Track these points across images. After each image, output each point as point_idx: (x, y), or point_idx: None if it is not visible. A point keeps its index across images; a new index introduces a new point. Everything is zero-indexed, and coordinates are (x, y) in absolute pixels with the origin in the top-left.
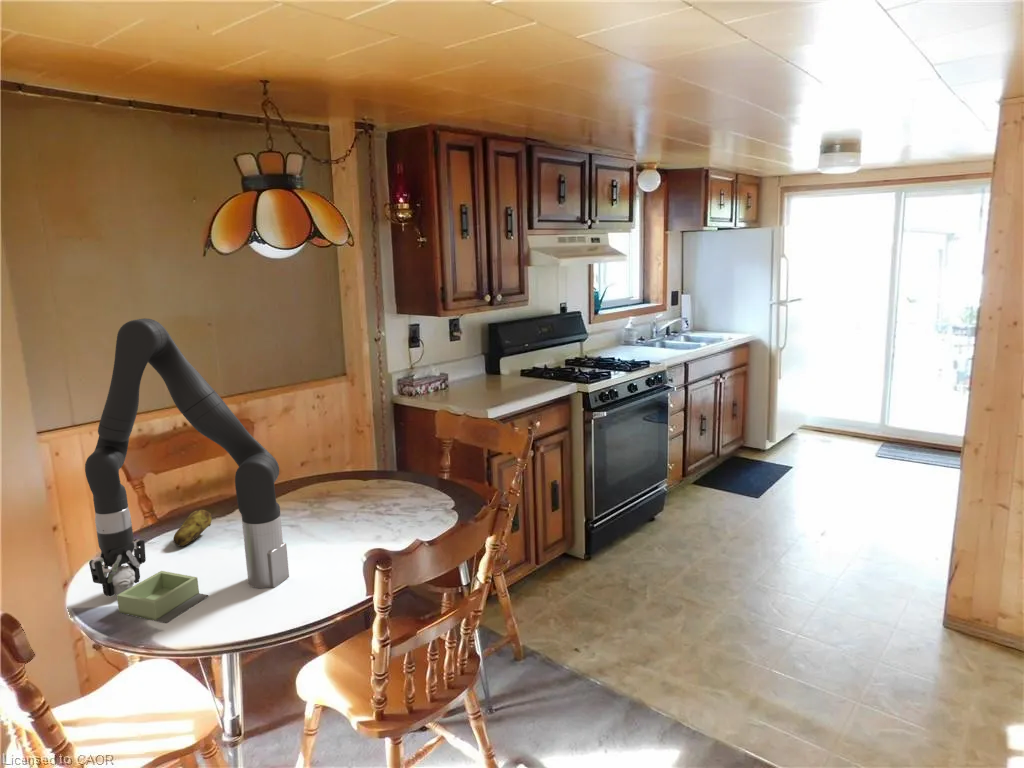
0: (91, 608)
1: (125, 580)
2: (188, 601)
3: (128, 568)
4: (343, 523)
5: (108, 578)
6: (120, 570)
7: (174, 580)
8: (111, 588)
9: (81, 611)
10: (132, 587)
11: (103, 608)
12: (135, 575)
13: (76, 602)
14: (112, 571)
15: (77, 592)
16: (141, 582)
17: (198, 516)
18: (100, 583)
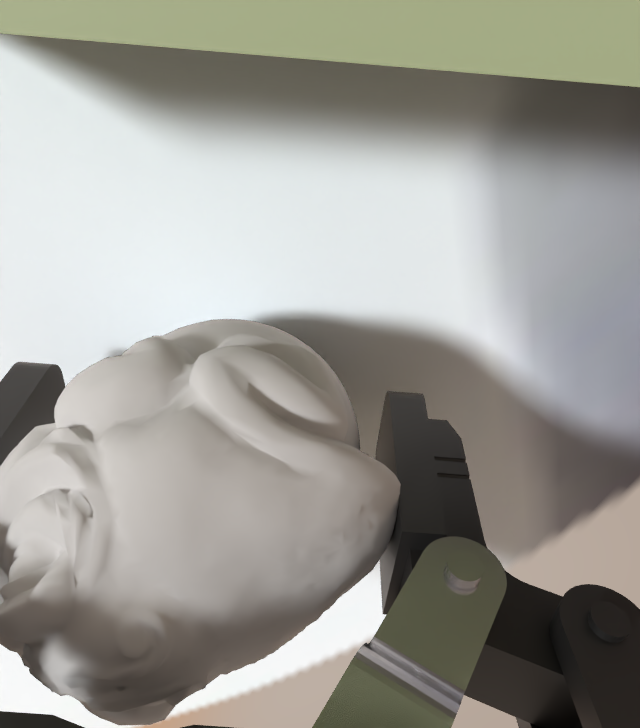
0: (563, 435)
1: (257, 418)
2: None
3: (58, 580)
4: None
5: (488, 617)
6: (188, 631)
7: None
8: (428, 460)
9: (621, 471)
10: (526, 32)
11: (562, 335)
12: (12, 436)
13: None
14: (439, 716)
15: (332, 651)
16: (238, 9)
17: None
18: (632, 615)
